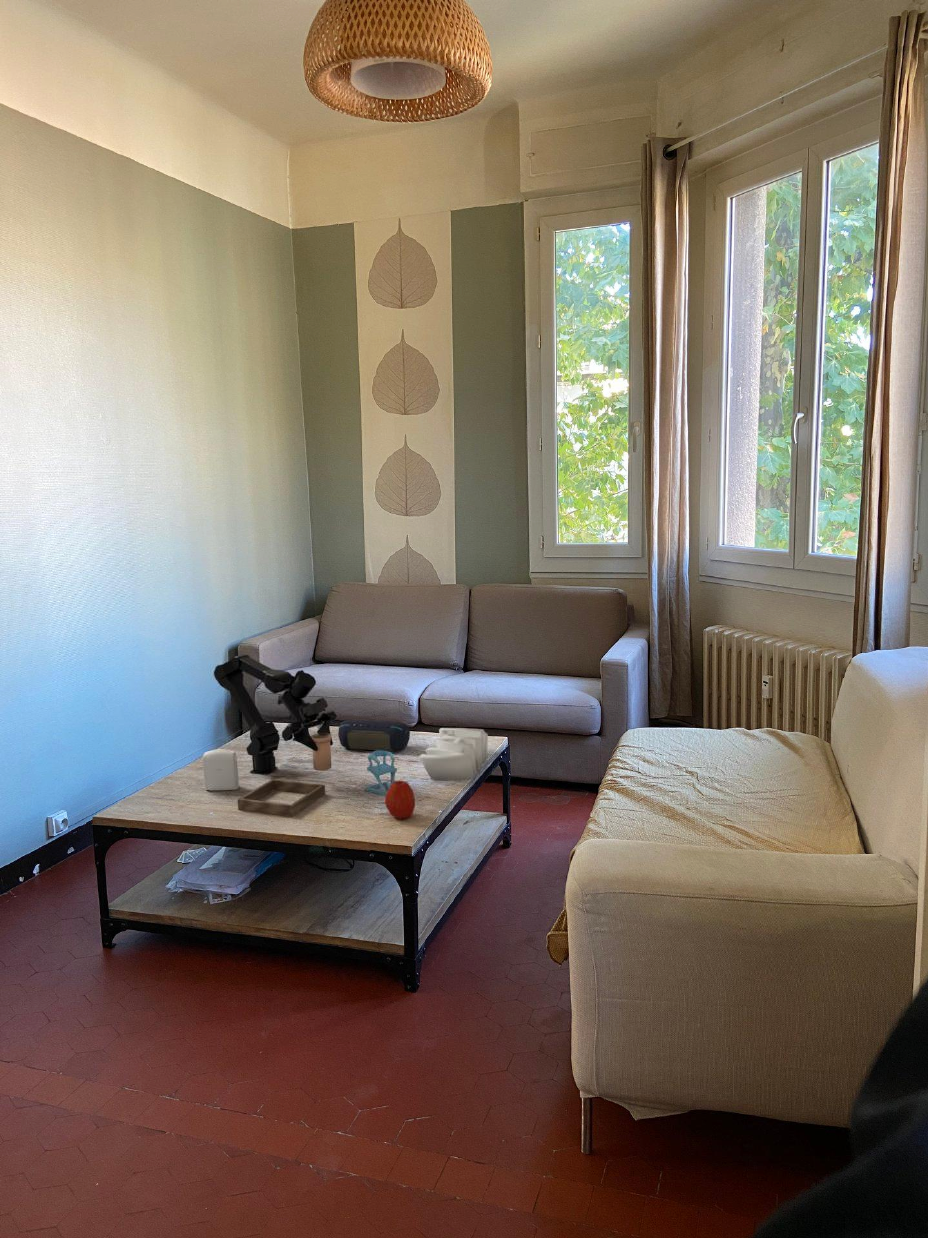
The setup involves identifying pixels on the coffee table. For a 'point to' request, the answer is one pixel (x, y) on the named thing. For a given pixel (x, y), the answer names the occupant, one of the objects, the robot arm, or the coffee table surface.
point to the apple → (400, 800)
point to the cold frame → (252, 804)
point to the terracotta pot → (322, 752)
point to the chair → (381, 771)
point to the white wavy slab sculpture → (456, 754)
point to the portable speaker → (374, 735)
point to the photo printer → (220, 770)
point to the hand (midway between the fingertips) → (324, 747)
